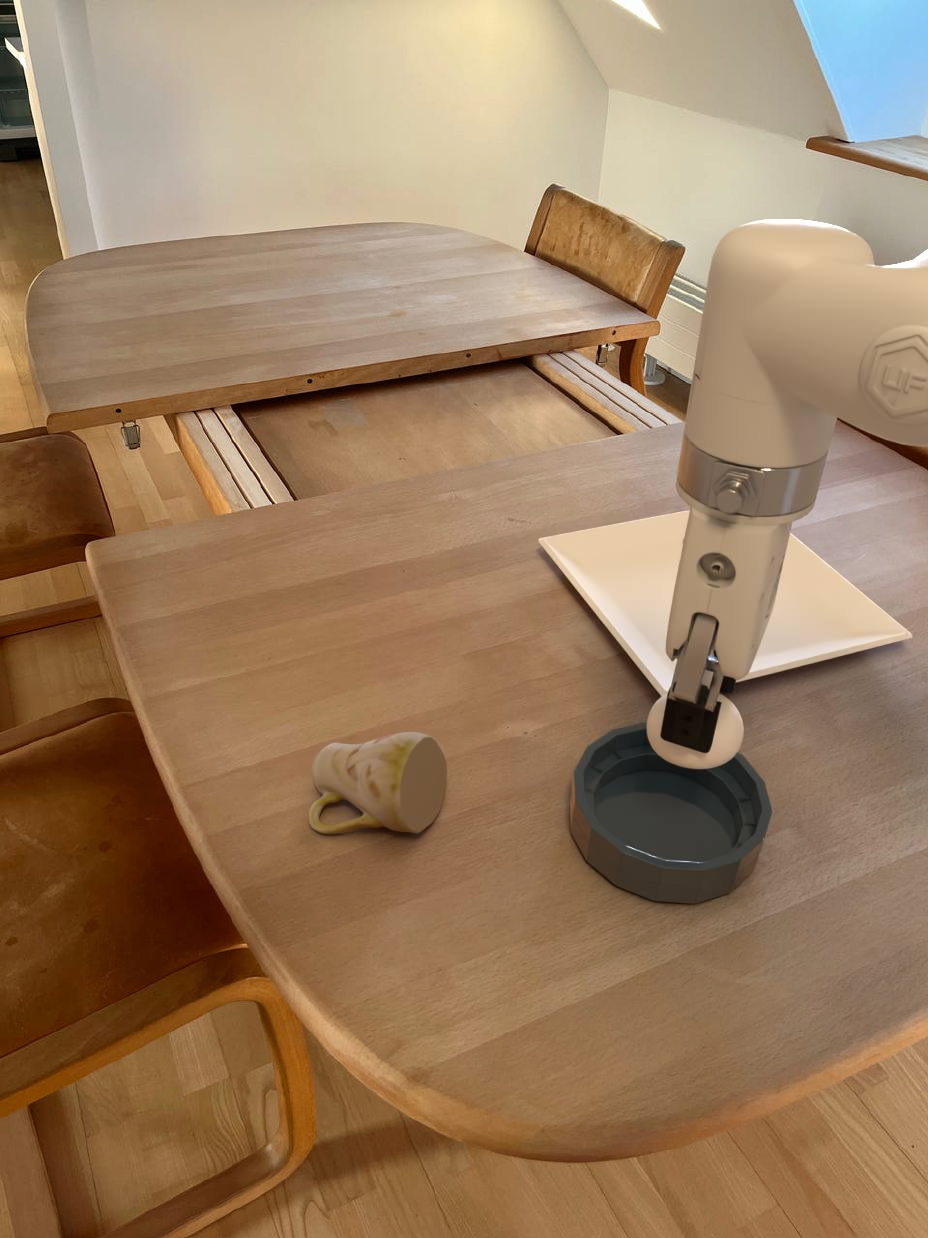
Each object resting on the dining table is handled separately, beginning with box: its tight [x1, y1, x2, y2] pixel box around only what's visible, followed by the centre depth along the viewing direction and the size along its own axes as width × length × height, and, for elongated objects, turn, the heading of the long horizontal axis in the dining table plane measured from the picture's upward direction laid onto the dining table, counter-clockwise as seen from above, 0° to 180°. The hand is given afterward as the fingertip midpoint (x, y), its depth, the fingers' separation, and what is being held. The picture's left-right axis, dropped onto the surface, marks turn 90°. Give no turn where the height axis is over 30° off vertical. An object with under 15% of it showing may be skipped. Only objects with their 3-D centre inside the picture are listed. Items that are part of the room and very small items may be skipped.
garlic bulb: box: [646, 649, 745, 769], centre depth 61 cm, size 6×6×8 cm
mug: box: [308, 731, 448, 835], centre depth 68 cm, size 8×10×10 cm
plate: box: [537, 509, 913, 697], centre depth 92 cm, size 26×26×2 cm
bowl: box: [569, 721, 773, 904], centre depth 68 cm, size 14×14×4 cm
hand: (698, 712), depth 62 cm, fingers closed on garlic bulb, 5 cm apart
